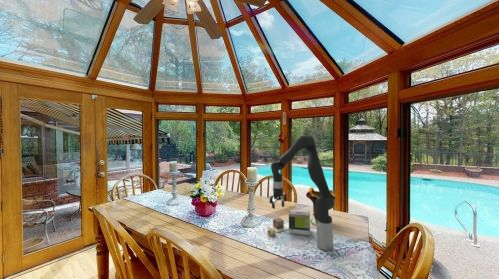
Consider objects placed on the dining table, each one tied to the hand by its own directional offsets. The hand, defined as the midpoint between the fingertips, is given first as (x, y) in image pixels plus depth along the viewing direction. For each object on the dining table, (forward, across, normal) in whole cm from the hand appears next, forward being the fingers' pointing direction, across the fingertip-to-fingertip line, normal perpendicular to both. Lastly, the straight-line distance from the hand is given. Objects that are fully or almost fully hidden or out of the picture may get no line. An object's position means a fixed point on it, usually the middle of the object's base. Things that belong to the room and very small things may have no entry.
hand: (278, 207), depth 176 cm
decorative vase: (+17, +37, -7) cm, 41 cm away
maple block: (+16, -11, -7) cm, 21 cm away
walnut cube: (+15, 0, 0) cm, 15 cm away
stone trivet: (+16, 0, 0) cm, 16 cm away
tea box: (+17, +10, -12) cm, 23 cm away
